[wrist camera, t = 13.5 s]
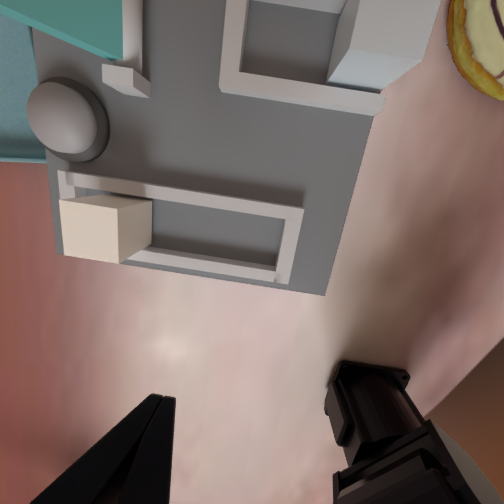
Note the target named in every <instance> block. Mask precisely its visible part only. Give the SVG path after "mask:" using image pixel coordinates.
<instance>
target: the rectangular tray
mask: <svg viewBox="0 0 504 504" xmlns="http://www.w3.org/2000/svg"><path fill="white" fill-rule="evenodd" d="M37 86H38V78H37V69H36V60H35V51H34V42H33V33H32V27H31V26H29V25H26V24H24V23H22V22H19V21H17V20H15V19H12V18H10V17H8V16H5V15H3V14H1V13H0V161H3V162H28V163H47V160H46V151H45V147H44V146H43V144H42V143H41V142H40V141H39V139H38V138H37V137H36V135H35V134H34V132H33V131H32V129H31V127H30V124H29V121H28V117H27V101H28V98H29V95H30V93H31V92H32V91H33V89H34V88H35V87H37Z"/></svg>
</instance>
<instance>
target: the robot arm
mask: <svg viewBox="0 0 504 504" xmlns="http://www.w3.org/2000/svg"><path fill="white" fill-rule="evenodd" d="M343 366H346V367H343ZM409 380H410V375H409V373H408V372H407V371H406V370H402V369H396V368H389V367H383V366H377V365H370V364H364V363H357V362H351V361H341V362H339V364H338V367H337V370H336V373H335V376H334V379H333V380H332V381H331V383H330V386H329V389H328V392H327V395H326V398H325V407H324V411H325V414H326V415H327V416H329V419H330V422H331V426H332V430H333V433H334V437H335V441H336V443H337V445H338V446H341V447H343V450H344V453H345V457H346V460H347V464H348V468H346V469H344V470H342V471H341V472H340V471H338V472H336V473H334V474H333V504H504V503H503V501H502V499H501V498H500V495H499V494H498V492H497V491H496V489H495V488H494V487H493V486H492V484H491V483H490V482H489V480H488V479H487V478H486V476H485V475H484V474H483V473H482V471H481V470H480V469H479V468H478V466H477V465H476V464H475V462H474V461H473V460H472V459H471V457H470V456H469V455H468V454H467V453H466V452H465V451H464V450H463V449H462V448H461V447H460V446H459V445H458V444H457V443H456V442H455V441H454V440H452V439H451V438H450V437H449V436H448V435H447V434H446V433H445V432H444V431H443V430H442V429H441V428H440V427H439V426H438V425H436V424H435V423H434V422H433V421H432V420H431V419H429V420H427V421H425V420H424V418H423V417H422V415H421V414H420V412H419V411H418V409H417V408H416V406H415V405H414V403H413V402H412V400H411V398H410V397H409V395H408V394H407V392H406V391H405V388H406V386H407V384H408V382H409ZM175 408H176V398H175V397H171V396H164V397H163V395H160V394H154V393H153V394H150V395H149V396H148V397H147V398H146V399H144V400H143V401H142V402H141V403H140V404H139V405H138V406H137V407H136V408H134V409H133V410H132V411H131V412H130V413H129V414H128V415H127V416H126V417H125V418H123V419H122V420H121V421H120V422H119V423H118V424H117V425H116V426H115V427H113V428H112V429H111V430H110V431H109V432H108V433H107V434H106V435H105V436H103V437H102V438H101V439H100V440H99V441H98V442H97V443H96V444H95V445H93V446H92V447H91V448H90V449H89V450H88V451H87V452H86V453H85V454H84V455H82V456H81V457H80V458H79V459H78V460H77V461H76V462H75V463H74V464H72V465H71V466H70V467H69V468H68V469H67V470H66V471H65V472H64V473H62V474H61V475H60V476H59V477H58V478H57V479H56V480H55V481H54V482H52V483H51V484H50V485H49V486H48V487H47V488H46V489H45V490H44V491H42V492H41V493H40V494H39V495H38V496H37V497H36V498H35V499H34V500H33V501H31V502H30V504H169V500H170V484H171V469H172V454H173V438H174V423H175Z"/></svg>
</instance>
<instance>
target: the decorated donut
mask: <svg viewBox="0 0 504 504" xmlns="http://www.w3.org/2000/svg"><path fill="white" fill-rule="evenodd" d="M447 33H448V42H449V43H448V45H449V49H450V51H451V54H452V59H453V62H454V63H455V64H456V67H457V69H458V71H459V72H460V73H461V75H462V77H464V78H465V79H466V80H467V81H468V82H469V83H470V84H471V85H472V86H474V88H475V89H477V90H478V91H480V92H481V93H483V94H486V95H488V96H491V97H493V98H496V99H498V100H502V101H504V0H451V2H450V7H449V15H448V19H447Z"/></svg>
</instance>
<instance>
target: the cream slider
mask: <svg viewBox="0 0 504 504" xmlns="http://www.w3.org/2000/svg"><path fill="white" fill-rule="evenodd" d="M59 207H60V217H61V227H62V237H63V247H64V255H66V256H73V257H79V258H86V259H92V260H98V261H105V262H111V263H117V264H119V263H121V262H122V261H124V260H126V259H127V258H129V257H131V256H132V255H134V254H135V253H137V252H139V251H140V250H142V249H144V248H145V247H147V246H149V245H150V244H151V241H152V201H150V200H143V199H137V198H131V197H124V196H118V195H112V194H103V195H94V196H86V197H78V198H69V199H61V200H59Z"/></svg>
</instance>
